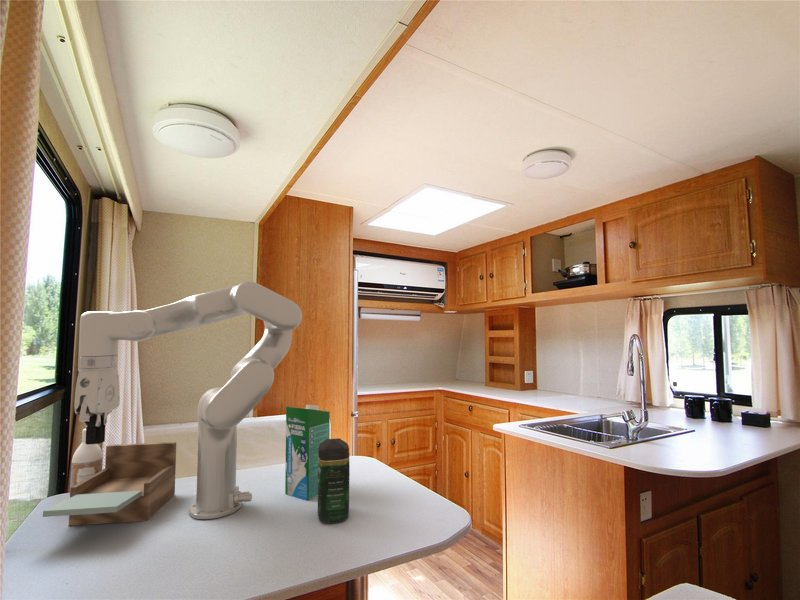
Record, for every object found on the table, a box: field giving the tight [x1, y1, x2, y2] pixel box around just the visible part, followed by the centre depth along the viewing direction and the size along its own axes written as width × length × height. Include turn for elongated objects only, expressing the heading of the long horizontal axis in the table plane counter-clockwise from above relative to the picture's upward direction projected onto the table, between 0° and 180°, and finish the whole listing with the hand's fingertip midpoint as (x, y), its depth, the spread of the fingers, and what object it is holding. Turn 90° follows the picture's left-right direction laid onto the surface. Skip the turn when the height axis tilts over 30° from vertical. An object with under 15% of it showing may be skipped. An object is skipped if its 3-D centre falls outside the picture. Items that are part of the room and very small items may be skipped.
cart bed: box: [68, 441, 177, 526], centre depth 108 cm, size 18×16×15 cm
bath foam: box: [69, 427, 104, 490], centre depth 113 cm, size 7×7×20 cm
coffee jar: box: [317, 438, 351, 524], centre depth 103 cm, size 10×8×19 cm
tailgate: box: [42, 491, 142, 518], centre depth 94 cm, size 15×2×11 cm
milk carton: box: [284, 404, 331, 501], centre depth 119 cm, size 9×9×25 cm
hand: (95, 443), depth 94 cm, fingers closed
